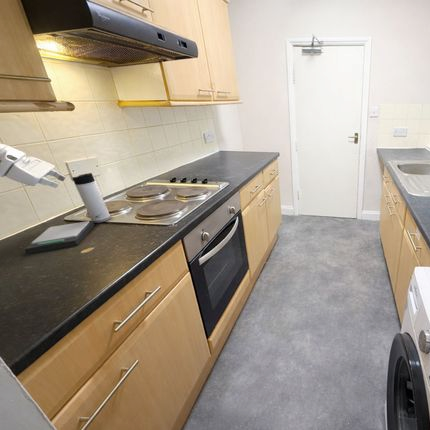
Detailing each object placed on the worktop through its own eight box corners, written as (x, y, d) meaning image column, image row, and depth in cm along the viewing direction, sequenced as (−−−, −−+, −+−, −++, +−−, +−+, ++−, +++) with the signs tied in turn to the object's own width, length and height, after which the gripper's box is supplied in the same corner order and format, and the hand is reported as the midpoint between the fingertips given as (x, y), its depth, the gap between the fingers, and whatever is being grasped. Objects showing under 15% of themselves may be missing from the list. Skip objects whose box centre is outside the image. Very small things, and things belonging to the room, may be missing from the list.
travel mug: (102, 223, 108) (81, 176, 99) (88, 222, 109) (66, 176, 100) (115, 216, 113) (96, 171, 105) (102, 216, 115) (82, 171, 106)
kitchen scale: (27, 254, 89) (23, 247, 88) (51, 232, 102) (48, 226, 101) (77, 245, 93) (74, 238, 92) (94, 225, 107) (92, 219, 106)
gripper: (18, 162, 100) (63, 181, 108) (-8, 175, 84) (48, 197, 92) (27, 148, 100) (72, 169, 108) (4, 159, 84) (59, 182, 92)
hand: (61, 182), depth 100 cm, fingers open, 8 cm apart
